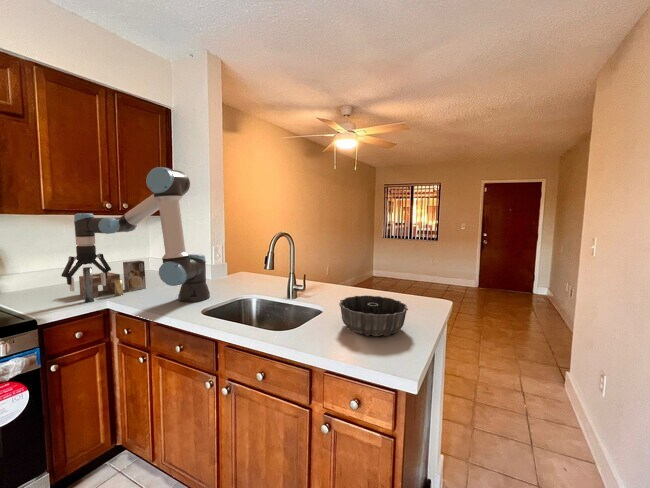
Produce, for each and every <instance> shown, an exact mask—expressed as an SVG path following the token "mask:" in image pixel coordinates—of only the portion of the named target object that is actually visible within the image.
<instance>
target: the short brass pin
mask: <svg viewBox="0 0 650 488" xmlns="http://www.w3.org/2000/svg"><path fill="white" fill-rule="evenodd" d="M123 282H124V279H120V280H115V281H114V283H115V293H114V296H115V297H122V296H123V295H124V287H123V286H124V283H123ZM121 295H122V296H121Z"/></svg>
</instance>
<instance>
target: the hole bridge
mask: <svg viewBox="0 0 650 488" xmlns="http://www.w3.org/2000/svg"><path fill="white" fill-rule="evenodd" d="M101 273H102V272H99V273H92V277H93V293H94V298H99V286H102V291H104V292H107V293H114V294H115V283H114V281H115V280H121V275H120V274H119V273H114V272H111V271H108V273H107V279H106V286H103V285H101ZM78 280H79V281H78V282H79V295H80V296H83V297H84V281H83V275H79V276H78Z"/></svg>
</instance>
